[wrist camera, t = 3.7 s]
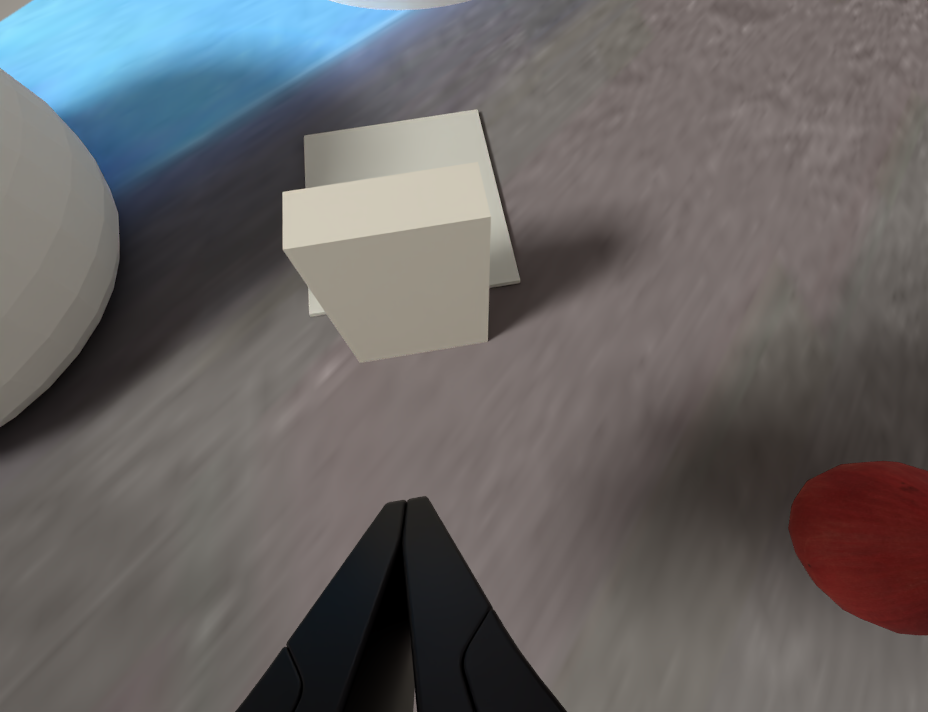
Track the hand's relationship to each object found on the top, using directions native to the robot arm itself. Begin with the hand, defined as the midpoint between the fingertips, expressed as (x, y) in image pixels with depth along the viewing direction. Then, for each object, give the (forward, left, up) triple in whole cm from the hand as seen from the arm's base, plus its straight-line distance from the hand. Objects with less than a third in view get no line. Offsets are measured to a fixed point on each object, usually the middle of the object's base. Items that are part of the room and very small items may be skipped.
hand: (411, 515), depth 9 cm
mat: (+15, +12, -12) cm, 23 cm away
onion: (+8, -14, -12) cm, 21 cm away
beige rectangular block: (+8, +7, -12) cm, 16 cm away
